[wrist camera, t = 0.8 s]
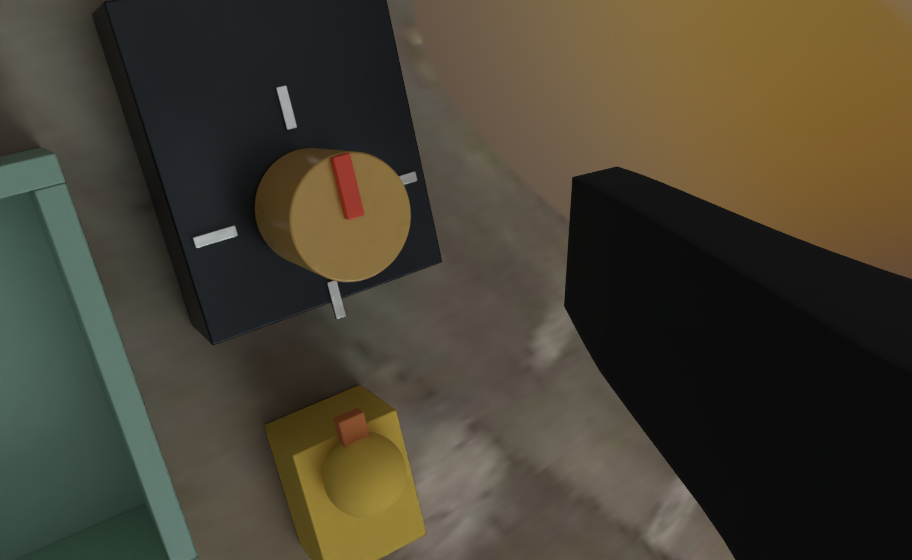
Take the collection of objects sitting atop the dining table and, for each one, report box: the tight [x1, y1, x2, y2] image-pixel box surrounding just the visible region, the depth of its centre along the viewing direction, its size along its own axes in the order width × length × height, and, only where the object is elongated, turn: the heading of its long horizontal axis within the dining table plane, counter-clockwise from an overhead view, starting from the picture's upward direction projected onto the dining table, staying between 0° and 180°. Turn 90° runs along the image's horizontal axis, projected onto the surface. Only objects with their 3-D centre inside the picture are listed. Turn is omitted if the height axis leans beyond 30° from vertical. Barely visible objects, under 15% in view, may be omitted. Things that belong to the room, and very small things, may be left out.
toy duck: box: [264, 385, 426, 560], centre depth 30 cm, size 7×4×6 cm, turn 14°
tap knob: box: [255, 148, 411, 282], centre depth 26 cm, size 4×4×4 cm
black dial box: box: [92, 0, 442, 345], centre depth 28 cm, size 12×9×3 cm
